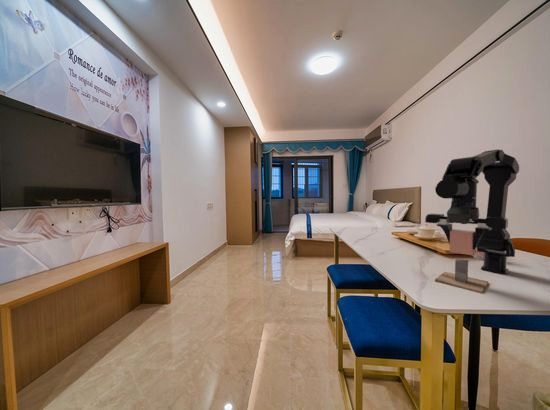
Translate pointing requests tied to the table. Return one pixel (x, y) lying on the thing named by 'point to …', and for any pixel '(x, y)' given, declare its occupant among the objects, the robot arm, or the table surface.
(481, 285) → the taupe inverted t block
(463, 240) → the pink rectangular block
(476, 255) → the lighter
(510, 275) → the table surface
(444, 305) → the table surface
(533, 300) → the table surface
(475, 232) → the robot arm
